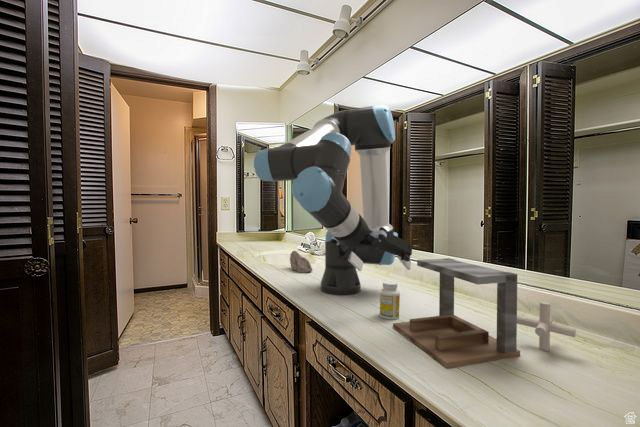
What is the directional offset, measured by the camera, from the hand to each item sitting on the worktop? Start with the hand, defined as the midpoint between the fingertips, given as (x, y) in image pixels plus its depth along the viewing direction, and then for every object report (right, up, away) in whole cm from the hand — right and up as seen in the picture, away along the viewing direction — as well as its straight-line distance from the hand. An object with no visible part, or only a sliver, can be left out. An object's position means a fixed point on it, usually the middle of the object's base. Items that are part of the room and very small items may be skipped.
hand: (384, 265), depth 77 cm
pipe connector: (+32, -16, -14) cm, 38 cm away
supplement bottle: (+3, -15, +5) cm, 16 cm away
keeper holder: (+13, -15, -10) cm, 22 cm away
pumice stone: (-27, -15, +66) cm, 73 cm away
